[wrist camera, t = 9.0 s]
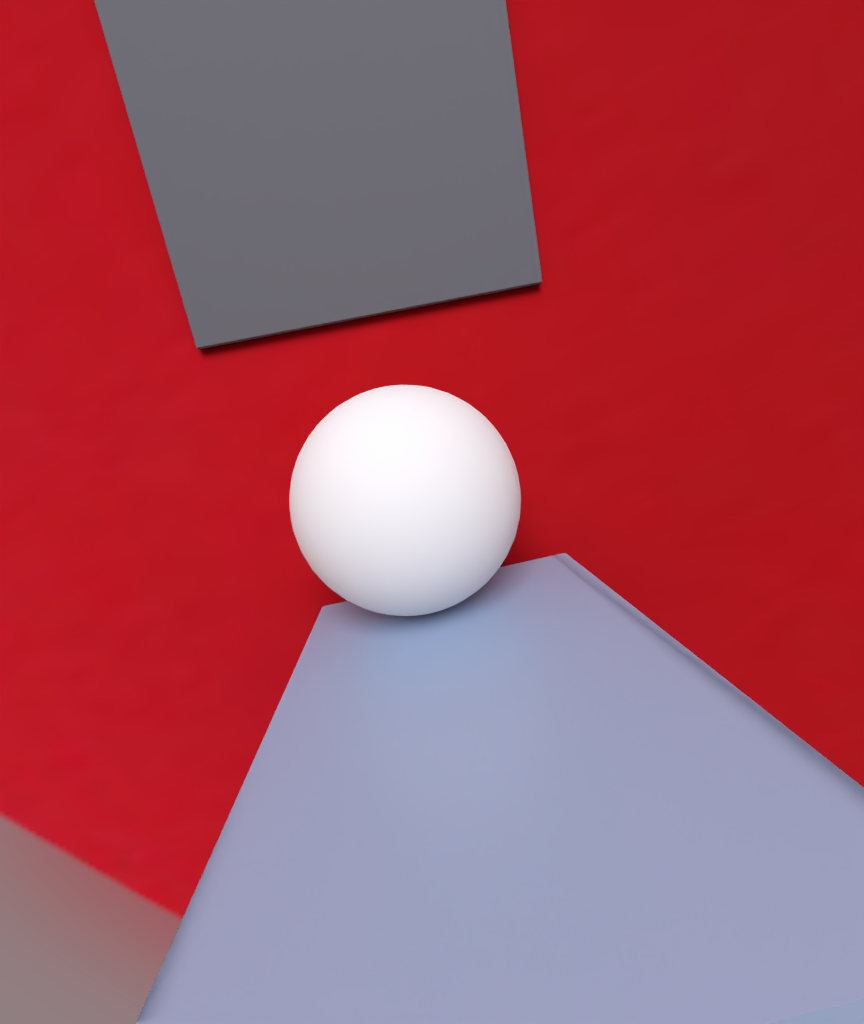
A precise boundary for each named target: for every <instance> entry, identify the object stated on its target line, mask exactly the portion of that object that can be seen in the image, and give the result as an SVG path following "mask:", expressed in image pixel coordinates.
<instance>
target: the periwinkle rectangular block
mask: <svg viewBox="0 0 864 1024" xmlns="http://www.w3.org/2000/svg"><path fill="white" fill-rule="evenodd" d="M136 1024H864V788H863V787H862V786H861V785H859V784H858V783H857V782H856V781H854V780H853V779H852V778H851V777H849V776H848V775H847V774H845V773H844V772H843V771H842V770H840V769H839V768H838V767H837V766H835V765H834V764H833V763H832V762H830V761H829V760H828V759H826V758H825V757H824V756H823V755H821V754H820V753H819V752H818V751H816V750H815V749H814V748H812V747H811V746H810V745H809V744H807V743H806V742H805V741H804V740H802V739H801V738H800V737H798V736H797V735H796V734H795V733H793V732H792V731H791V730H790V729H788V728H787V727H786V726H785V725H783V724H782V723H781V722H779V721H778V720H777V719H776V718H774V717H773V716H772V715H771V714H769V713H768V712H767V711H765V710H764V709H763V708H762V707H760V706H759V705H758V704H757V703H755V702H754V701H753V700H752V699H750V698H749V697H748V696H746V695H745V694H744V693H743V692H741V691H740V690H739V689H738V688H736V687H735V686H734V685H732V684H731V683H730V682H729V681H727V680H726V679H725V678H724V677H722V676H721V675H720V674H718V673H717V672H716V671H715V670H713V669H712V668H711V667H710V666H708V665H707V664H706V663H705V662H703V661H702V660H701V659H699V658H698V657H697V656H696V655H694V654H693V653H692V652H691V651H689V650H688V649H687V648H685V647H684V646H683V645H682V644H680V643H679V642H678V641H677V640H675V639H674V638H673V637H671V636H670V635H669V634H668V633H666V632H665V631H664V630H663V629H661V628H660V627H659V626H658V625H656V624H655V623H654V622H652V621H651V620H650V619H649V618H647V617H646V616H645V615H644V614H642V613H641V612H640V611H638V610H637V609H636V608H635V607H633V606H632V605H631V604H630V603H628V602H627V601H626V600H624V599H623V598H622V597H621V596H619V595H618V594H617V593H616V592H614V591H613V590H612V589H611V588H609V587H608V586H607V585H605V584H604V583H603V582H602V581H600V580H599V579H598V578H597V577H595V576H594V575H593V574H591V573H590V572H589V571H588V570H586V569H585V568H584V567H583V566H581V565H580V564H579V563H577V562H576V561H575V560H574V559H572V558H571V557H570V556H569V555H567V554H566V553H562V554H558V555H553V556H549V557H544V558H540V559H535V560H531V561H526V562H522V563H517V564H513V565H508V566H504V567H500V568H499V569H498V570H497V571H496V573H495V574H494V575H493V576H492V577H491V579H490V580H489V581H488V582H487V583H486V584H485V585H484V586H482V587H481V588H480V589H479V590H478V591H477V592H475V593H474V594H472V595H471V596H469V597H468V598H466V599H465V600H463V601H461V602H460V603H458V604H456V605H454V606H452V607H449V608H446V609H444V610H441V611H438V612H434V613H430V614H424V615H418V616H396V615H387V614H382V613H377V612H373V611H370V610H367V609H364V608H362V607H360V606H357V605H355V604H353V603H351V602H349V601H345V602H341V603H336V604H332V605H327V606H323V607H322V609H321V611H320V613H319V616H318V618H317V620H316V622H315V625H314V627H313V629H312V631H311V634H310V636H309V638H308V640H307V642H306V645H305V647H304V649H303V651H302V654H301V656H300V658H299V660H298V663H297V665H296V667H295V669H294V671H293V674H292V676H291V678H290V680H289V683H288V685H287V687H286V689H285V692H284V694H283V696H282V698H281V700H280V703H279V705H278V707H277V709H276V712H275V714H274V716H273V718H272V721H271V723H270V725H269V727H268V729H267V732H266V734H265V736H264V738H263V741H262V743H261V745H260V747H259V750H258V752H257V754H256V756H255V758H254V761H253V763H252V765H251V767H250V770H249V772H248V774H247V776H246V779H245V781H244V783H243V785H242V787H241V790H240V792H239V794H238V796H237V799H236V801H235V803H234V805H233V808H232V810H231V812H230V814H229V816H228V819H227V821H226V823H225V825H224V828H223V830H222V832H221V834H220V837H219V839H218V841H217V843H216V845H215V848H214V850H213V852H212V854H211V857H210V859H209V861H208V863H207V866H206V868H205V870H204V872H203V874H202V877H201V879H200V881H199V883H198V886H197V888H196V890H195V892H194V895H193V897H192V899H191V901H190V903H189V906H188V908H187V910H186V912H185V915H184V917H183V919H182V921H181V924H180V926H179V928H178V930H177V932H176V935H175V937H174V939H173V941H172V944H171V946H170V948H169V951H168V953H167V955H166V957H165V959H164V962H163V964H162V966H161V968H160V970H159V973H158V975H157V977H156V979H155V982H154V984H153V986H152V989H151V991H150V993H149V995H148V997H147V1000H146V1002H145V1004H144V1006H143V1008H142V1011H141V1013H140V1015H139V1017H138V1019H137V1022H136Z"/></svg>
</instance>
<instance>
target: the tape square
mask: <svg viewBox="0 0 864 1024" xmlns="http://www.w3.org/2000/svg"><path fill="white" fill-rule="evenodd" d="M94 1H95V4H96V8H97V11H98V15H99V18H100V21H101V25H102V28H103V32H104V35H105V38H106V42H107V45H108V49H109V52H110V55H111V59H112V62H113V66H114V69H115V72H116V76H117V79H118V83H119V86H120V89H121V93H122V96H123V100H124V103H125V106H126V110H127V113H128V117H129V120H130V123H131V127H132V130H133V134H134V137H135V140H136V144H137V147H138V151H139V154H140V157H141V161H142V164H143V167H144V171H145V174H146V178H147V181H148V184H149V188H150V191H151V195H152V198H153V201H154V205H155V208H156V212H157V215H158V218H159V222H160V225H161V229H162V232H163V235H164V239H165V242H166V246H167V249H168V252H169V256H170V259H171V263H172V266H173V269H174V273H175V276H176V280H177V283H178V286H179V290H180V293H181V297H182V300H183V303H184V307H185V310H186V314H187V317H188V320H189V324H190V327H191V331H192V334H193V337H194V341H195V344H196V348H198V349H204V348H209V347H215V346H220V345H225V344H230V343H235V342H241V341H246V340H251V339H256V338H261V337H267V336H272V335H277V334H282V333H287V332H293V331H298V330H303V329H308V328H314V327H319V326H324V325H329V324H334V323H340V322H345V321H350V320H355V319H360V318H366V317H371V316H376V315H381V314H386V313H392V312H397V311H402V310H407V309H412V308H418V307H423V306H428V305H433V304H438V303H444V302H449V301H454V300H459V299H464V298H470V297H475V296H480V295H485V294H490V293H496V292H501V291H506V290H511V289H516V288H522V287H527V286H532V285H537V284H540V283H541V282H542V276H541V269H540V261H539V253H538V246H537V238H536V230H535V223H534V215H533V207H532V200H531V192H530V184H529V177H528V169H527V161H526V154H525V146H524V138H523V131H522V123H521V115H520V108H519V100H518V93H517V85H516V77H515V70H514V62H513V54H512V47H511V39H510V31H509V24H508V16H507V8H506V1H505V0H94Z"/></svg>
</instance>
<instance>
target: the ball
mask: <svg viewBox="0 0 864 1024" xmlns="http://www.w3.org/2000/svg"><path fill="white" fill-rule="evenodd" d="M289 502H290V516H291V522H292V527H293V531H294V534H295V537H296V539H297V542H298V545H299V547H300V550H301V552H302V554H303V555H304V557H305V559H306V560H307V562H308V563H309V565H310V567H311V568H312V570H313V571H314V572H315V573H316V574H317V576H318V577H319V578H320V579H321V580H322V581H323V582H324V583H325V584H326V585H327V586H328V587H329V588H330V589H332V590H333V591H334V592H336V593H337V594H338V595H340V596H341V597H343V598H344V599H345V600H347V601H349V602H351V603H353V604H355V605H357V606H360V607H362V608H364V609H367V610H370V611H373V612H377V613H382V614H387V615H396V616H418V615H424V614H430V613H434V612H438V611H441V610H444V609H446V608H449V607H452V606H454V605H456V604H458V603H460V602H461V601H463V600H465V599H466V598H468V597H469V596H471V595H472V594H474V593H475V592H477V591H478V590H479V589H480V588H481V587H482V586H484V585H485V584H486V583H487V582H488V581H489V580H490V579H491V577H492V576H493V575H494V574H495V573H496V571H497V570H498V569H499V568H500V566H501V564H502V563H503V561H504V560H505V558H506V556H507V554H508V552H509V550H510V548H511V546H512V543H513V541H514V539H515V535H516V531H517V527H518V523H519V519H520V506H521V493H520V483H519V478H518V473H517V470H516V466H515V463H514V460H513V458H512V456H511V453H510V451H509V449H508V447H507V445H506V443H505V442H504V440H503V439H502V437H501V436H500V434H499V433H498V431H497V430H496V428H495V427H494V426H493V425H492V424H491V423H490V422H489V421H488V420H487V419H486V418H485V417H484V416H483V415H482V414H481V413H480V412H479V411H477V410H476V409H475V408H474V407H472V406H471V405H469V404H468V403H466V402H465V401H463V400H461V399H459V398H457V397H455V396H453V395H451V394H449V393H446V392H443V391H440V390H437V389H433V388H430V387H425V386H415V385H392V386H385V387H380V388H376V389H372V390H369V391H366V392H363V393H361V394H359V395H356V396H354V397H353V398H351V399H349V400H347V401H345V402H344V403H342V404H340V405H339V406H337V407H336V408H335V409H334V410H332V411H331V412H330V413H329V414H328V415H327V416H326V417H325V418H323V419H322V420H321V421H320V422H319V424H318V425H317V426H316V427H315V429H314V430H313V431H312V433H311V434H310V435H309V437H308V438H307V440H306V442H305V443H304V445H303V447H302V449H301V451H300V453H299V455H298V458H297V461H296V464H295V467H294V470H293V474H292V479H291V486H290V495H289Z"/></svg>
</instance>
